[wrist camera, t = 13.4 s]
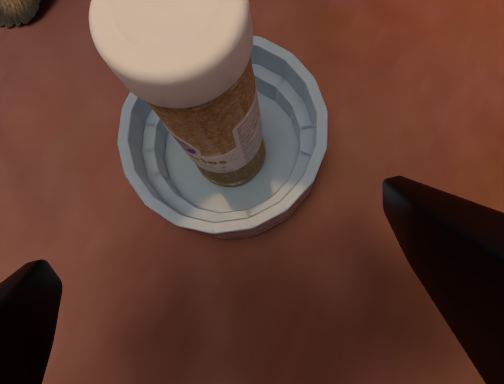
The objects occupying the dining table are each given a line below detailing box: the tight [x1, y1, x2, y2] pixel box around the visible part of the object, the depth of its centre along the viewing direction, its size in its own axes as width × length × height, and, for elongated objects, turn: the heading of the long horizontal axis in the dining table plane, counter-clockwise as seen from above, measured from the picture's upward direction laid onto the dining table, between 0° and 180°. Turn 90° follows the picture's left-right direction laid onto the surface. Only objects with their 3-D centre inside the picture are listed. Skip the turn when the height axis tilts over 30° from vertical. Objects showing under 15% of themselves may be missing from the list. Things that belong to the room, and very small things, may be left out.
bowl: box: [117, 36, 328, 239], centre depth 21 cm, size 11×11×4 cm
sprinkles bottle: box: [89, 0, 266, 186], centre depth 16 cm, size 5×5×14 cm
